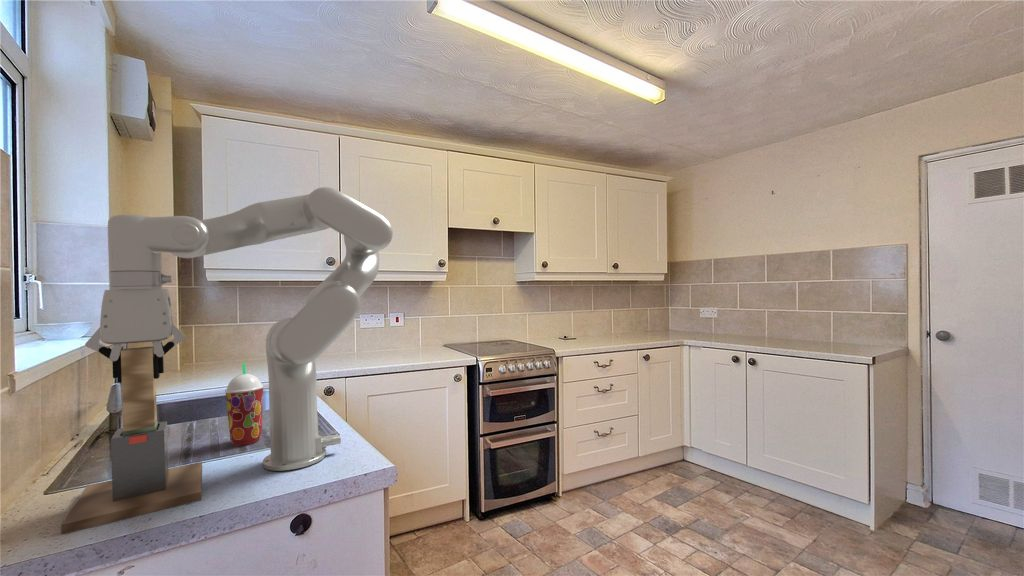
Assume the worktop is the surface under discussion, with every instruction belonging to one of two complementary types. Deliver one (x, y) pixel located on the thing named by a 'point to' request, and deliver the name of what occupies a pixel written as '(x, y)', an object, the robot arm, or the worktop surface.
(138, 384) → the post
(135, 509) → the base board
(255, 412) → the smoothie
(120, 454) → the sleeve
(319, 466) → the worktop surface
